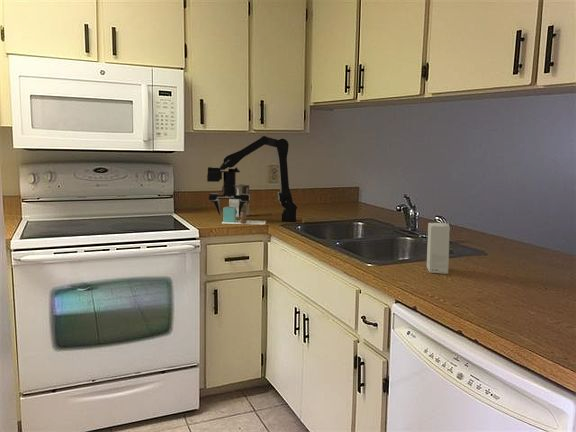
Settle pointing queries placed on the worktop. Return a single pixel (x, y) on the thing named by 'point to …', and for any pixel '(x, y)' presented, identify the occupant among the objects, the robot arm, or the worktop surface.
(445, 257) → the skincare box
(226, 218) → the light blue block
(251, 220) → the board
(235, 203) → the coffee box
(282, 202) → the robot arm
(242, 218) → the walnut dowel
